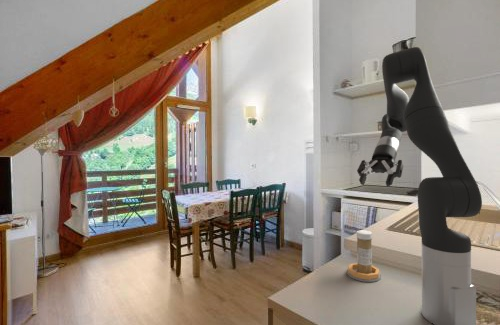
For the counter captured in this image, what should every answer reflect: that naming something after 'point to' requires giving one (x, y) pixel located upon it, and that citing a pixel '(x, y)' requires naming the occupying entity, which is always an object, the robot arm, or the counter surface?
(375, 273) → the orange rimmed grey dish
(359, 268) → the spice jar
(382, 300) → the counter surface
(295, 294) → the counter surface
